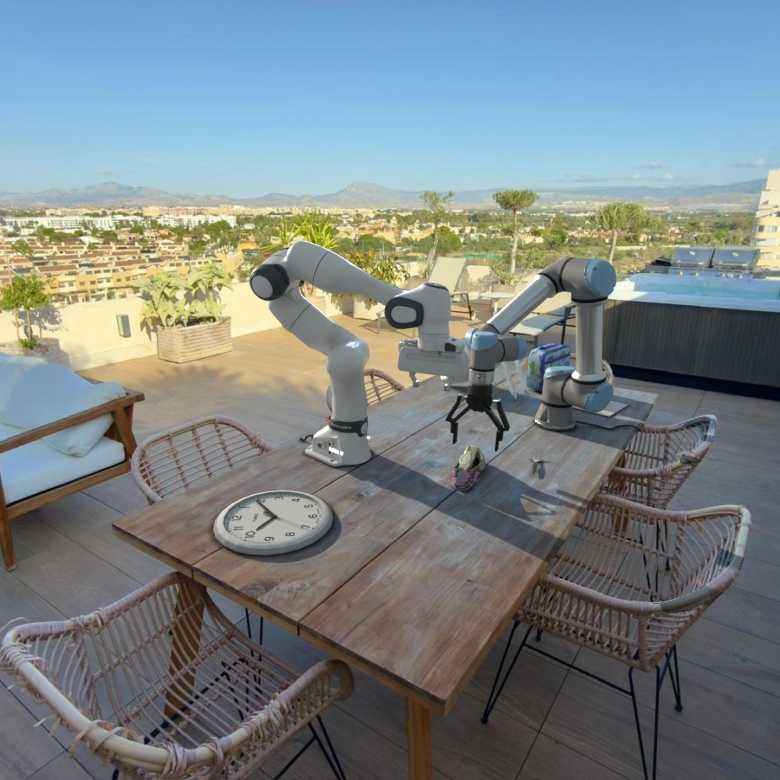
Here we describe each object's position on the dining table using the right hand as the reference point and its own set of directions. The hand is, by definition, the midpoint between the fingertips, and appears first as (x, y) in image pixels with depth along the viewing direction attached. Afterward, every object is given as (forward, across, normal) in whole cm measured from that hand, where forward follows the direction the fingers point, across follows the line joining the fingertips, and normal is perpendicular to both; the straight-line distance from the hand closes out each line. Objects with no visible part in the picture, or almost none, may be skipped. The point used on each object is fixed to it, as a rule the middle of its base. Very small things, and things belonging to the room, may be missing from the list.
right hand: (475, 446), depth 167 cm
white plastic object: (+5, -15, +77) cm, 79 cm away
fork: (+6, +19, +7) cm, 21 cm away
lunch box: (+5, +13, +98) cm, 99 cm away
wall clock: (+8, -40, -54) cm, 68 cm away
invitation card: (+5, +38, +79) cm, 88 cm away
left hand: (-22, -11, -16) cm, 29 cm away
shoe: (+6, 0, -8) cm, 11 cm away
